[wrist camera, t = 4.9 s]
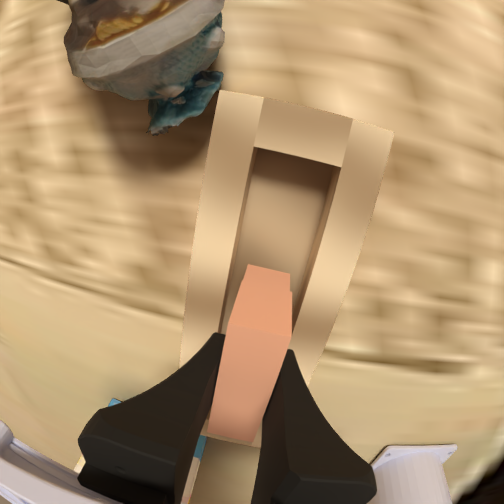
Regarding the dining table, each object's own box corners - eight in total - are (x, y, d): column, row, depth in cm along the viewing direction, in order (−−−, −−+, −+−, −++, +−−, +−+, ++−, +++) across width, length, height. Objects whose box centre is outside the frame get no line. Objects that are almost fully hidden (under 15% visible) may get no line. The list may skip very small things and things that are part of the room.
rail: (278, 424, 21) (276, 450, 19) (184, 402, 21) (174, 427, 19) (378, 131, 14) (394, 131, 11) (231, 95, 14) (219, 89, 11)
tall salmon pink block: (264, 362, 17) (253, 442, 12) (228, 354, 17) (207, 431, 12) (292, 266, 15) (291, 337, 10) (249, 256, 15) (227, 322, 10)
